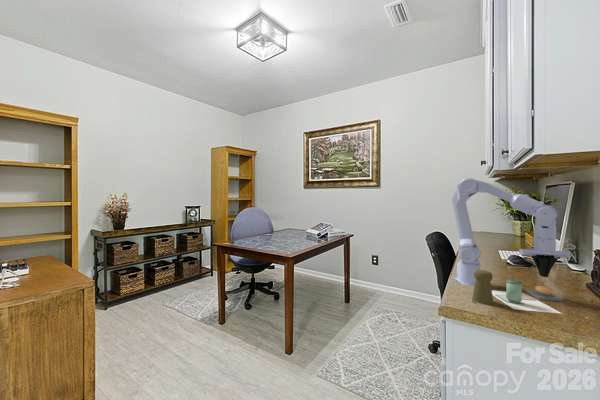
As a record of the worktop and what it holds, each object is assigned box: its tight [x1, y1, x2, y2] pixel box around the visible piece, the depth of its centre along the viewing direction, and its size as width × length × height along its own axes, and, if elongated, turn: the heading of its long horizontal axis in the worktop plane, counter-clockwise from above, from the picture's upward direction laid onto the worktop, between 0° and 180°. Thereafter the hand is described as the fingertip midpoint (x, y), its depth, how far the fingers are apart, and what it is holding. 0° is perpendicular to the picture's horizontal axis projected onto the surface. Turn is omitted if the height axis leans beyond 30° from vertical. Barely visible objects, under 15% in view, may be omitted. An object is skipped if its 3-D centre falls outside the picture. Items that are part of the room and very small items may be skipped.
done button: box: [534, 285, 553, 295], centre depth 91 cm, size 4×4×2 cm
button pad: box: [525, 289, 564, 303], centre depth 91 cm, size 7×7×2 cm
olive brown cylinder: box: [471, 269, 494, 306], centre depth 86 cm, size 6×6×11 cm
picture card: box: [492, 289, 563, 315], centre depth 87 cm, size 18×13×1 cm
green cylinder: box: [505, 278, 523, 304], centre depth 86 cm, size 4×4×7 cm
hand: (543, 276), depth 91 cm, fingers closed
